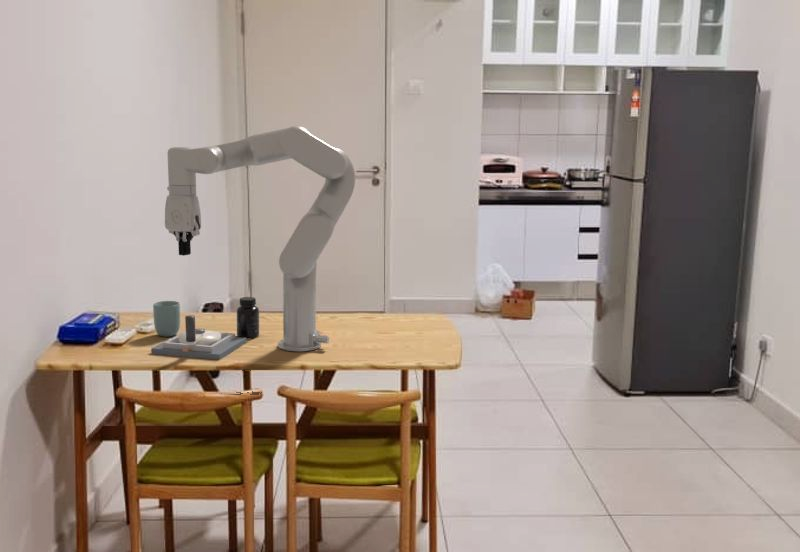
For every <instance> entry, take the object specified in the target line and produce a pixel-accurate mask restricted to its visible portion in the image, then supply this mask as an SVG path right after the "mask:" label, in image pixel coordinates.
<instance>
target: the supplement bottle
mask: <svg viewBox="0 0 800 552" xmlns="http://www.w3.org/2000/svg"><path fill="white" fill-rule="evenodd" d="M256 305H257V301H256V298H255V297H254V296H244V297H241V298H239V306H238V307H237V308H236V337H242V338H246V340H249V339H250V340H251V339H255V338H257V337H259V336H260V309H259V307H258V306H256Z"/></svg>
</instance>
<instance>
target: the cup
mask: <svg viewBox="0 0 800 552" xmlns="http://www.w3.org/2000/svg"><path fill="white" fill-rule="evenodd" d="M152 306H153V307H152V309H153V311H152V313H153V324H154V325H153V326H154V329H155V332H156V335H158V336H160V337H175V336H177V335H178V334H179V330H180V328H181V304H180V302H179V301H176V300H175V301H174V300H162V301H161V300H159V301H157V302H155V303H153V305H152Z"/></svg>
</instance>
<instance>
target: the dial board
mask: <svg viewBox="0 0 800 552" xmlns="http://www.w3.org/2000/svg"><path fill="white" fill-rule="evenodd" d="M218 332H219V331H218ZM183 333H186V330H185V331H184V332H181V333H177V334H176V335H174V336H172V337H171V338H168V339H167V340H165V341H163V342H161V343H159V344H157V345H155V346H153V347H152V348H150V352H151V354H153V355H163V356H175V357H184V356H187V358H195V357H196V358H197V359H209V360H217V359H220V360H222V359H224V358H225V357H226V356H227V357H228V355H230V354H231V353H232V352H234V351H236V350H237V349H239V348H240V347H242V346H243V345H245V344H247V339H246V338H242V337H238V336H236V333H234V332H221V331H220V332H219V333H220V334H221V340H219V341H218V342H216V343H214V344H213V345H211V346H207V345H196V344H194V345H187V344H184V343H179V335H180V334H183Z"/></svg>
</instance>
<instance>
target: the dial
mask: <svg viewBox="0 0 800 552" xmlns="http://www.w3.org/2000/svg"><path fill="white" fill-rule="evenodd" d="M184 319H185V331H186V333H183V332H182V333H183V334H180V333H179V334H180V335H179V343H184V344H187V345H194V344H196V345H207V346H211V345H213V344H214V343H216V342H218V341H219V340H221V334H220V333H219V331H215V330H206V329H205V328H199V327H198V328H196V316H195V315H193V314H192V315H190V314H189V315H185V317H184Z"/></svg>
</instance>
